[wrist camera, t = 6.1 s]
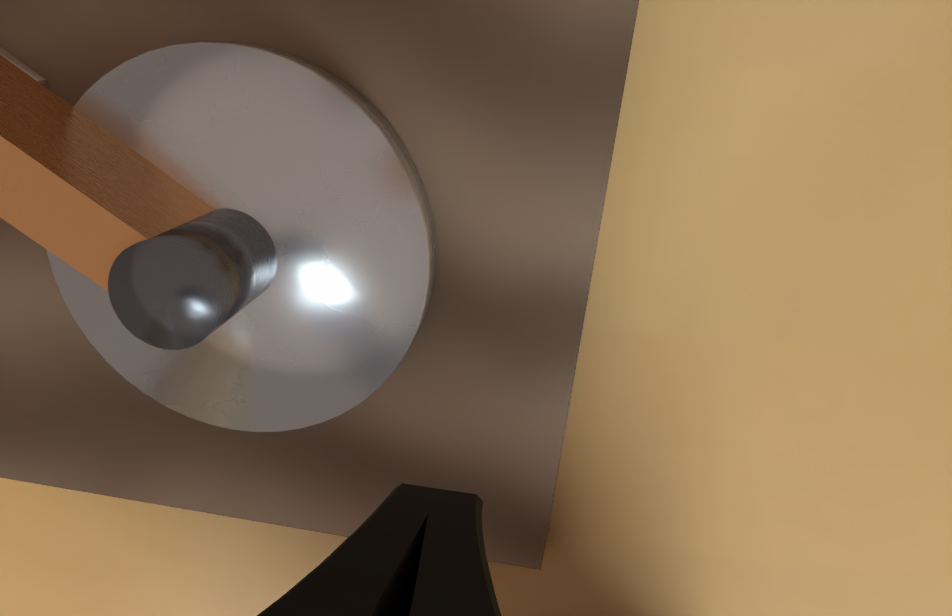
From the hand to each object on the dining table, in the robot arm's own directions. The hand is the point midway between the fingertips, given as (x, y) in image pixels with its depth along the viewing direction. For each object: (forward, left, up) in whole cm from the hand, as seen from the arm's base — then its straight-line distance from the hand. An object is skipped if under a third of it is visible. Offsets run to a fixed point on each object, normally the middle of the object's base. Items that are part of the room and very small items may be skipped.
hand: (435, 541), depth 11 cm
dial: (+2, +7, -8) cm, 11 cm away
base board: (+2, +7, -9) cm, 12 cm away
